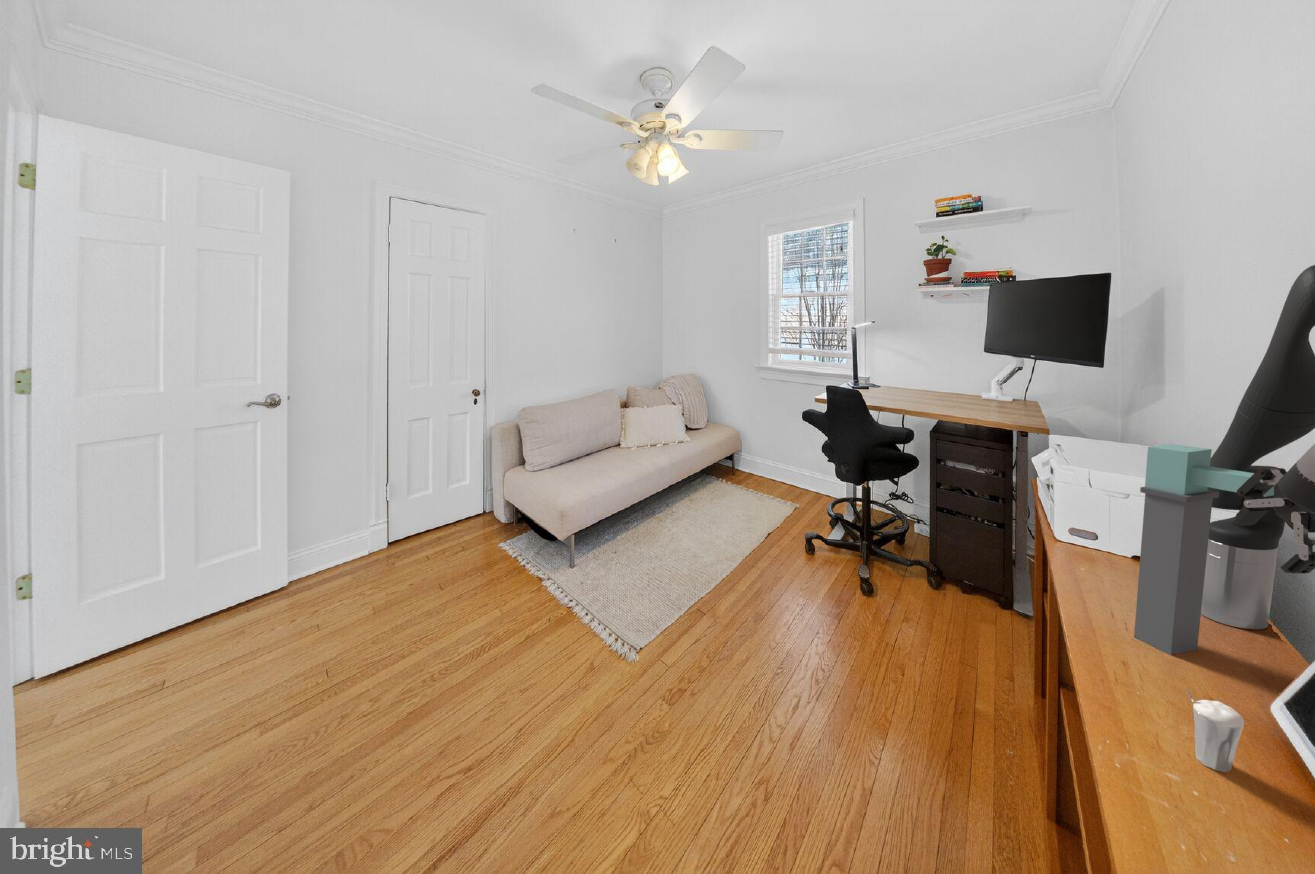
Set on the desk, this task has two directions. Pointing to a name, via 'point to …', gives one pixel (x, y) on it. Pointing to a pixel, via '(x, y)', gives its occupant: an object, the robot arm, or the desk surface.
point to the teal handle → (1189, 471)
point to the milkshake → (1216, 733)
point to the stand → (1172, 568)
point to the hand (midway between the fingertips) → (1265, 546)
